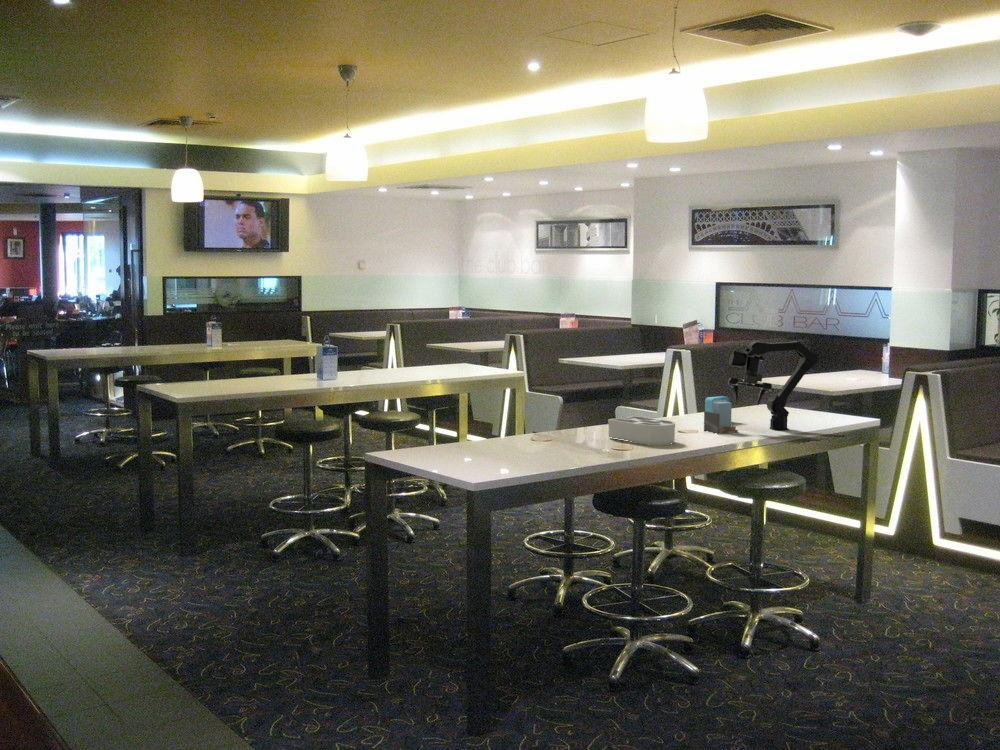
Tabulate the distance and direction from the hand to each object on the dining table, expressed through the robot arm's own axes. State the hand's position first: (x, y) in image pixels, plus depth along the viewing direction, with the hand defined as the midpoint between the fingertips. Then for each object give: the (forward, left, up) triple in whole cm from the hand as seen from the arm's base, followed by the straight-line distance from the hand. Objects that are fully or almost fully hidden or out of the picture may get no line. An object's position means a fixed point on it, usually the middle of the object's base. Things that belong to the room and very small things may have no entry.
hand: (747, 403), depth 452 cm
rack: (+12, -2, -12) cm, 17 cm away
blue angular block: (+11, -2, -12) cm, 16 cm away
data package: (+2, -30, -13) cm, 32 cm away
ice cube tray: (+52, +14, -13) cm, 56 cm away
